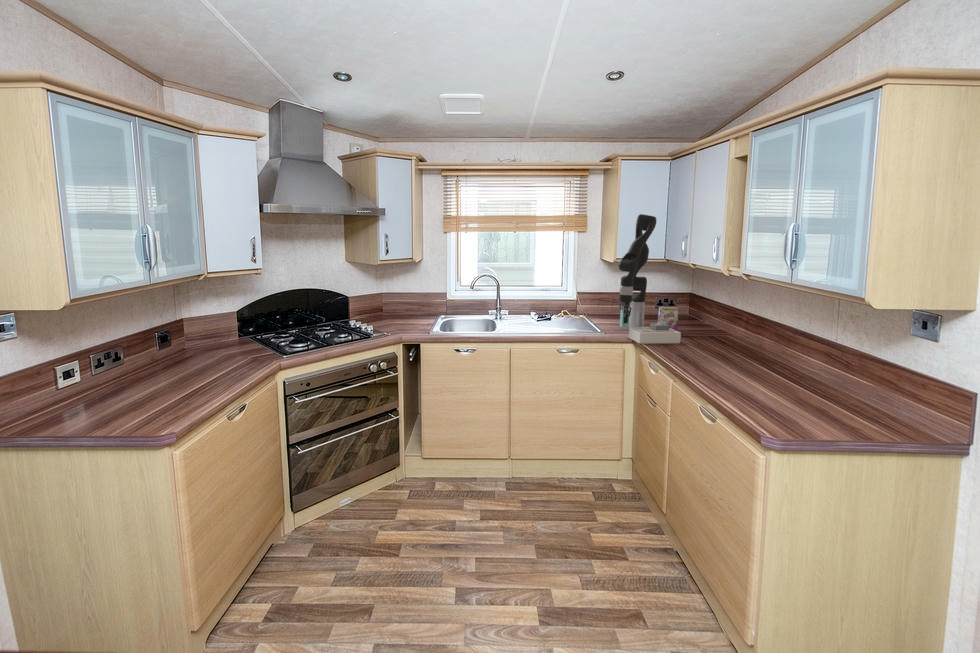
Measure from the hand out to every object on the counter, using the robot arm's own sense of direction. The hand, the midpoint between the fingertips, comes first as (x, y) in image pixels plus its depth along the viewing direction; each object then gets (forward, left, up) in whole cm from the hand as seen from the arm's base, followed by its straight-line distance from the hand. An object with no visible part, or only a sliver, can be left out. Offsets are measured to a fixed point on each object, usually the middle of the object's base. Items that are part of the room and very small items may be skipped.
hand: (624, 322), depth 307 cm
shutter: (+11, +17, -3) cm, 20 cm away
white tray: (+11, +14, -9) cm, 20 cm away
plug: (0, 0, -3) cm, 3 cm away
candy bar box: (-9, +31, -9) cm, 34 cm away
